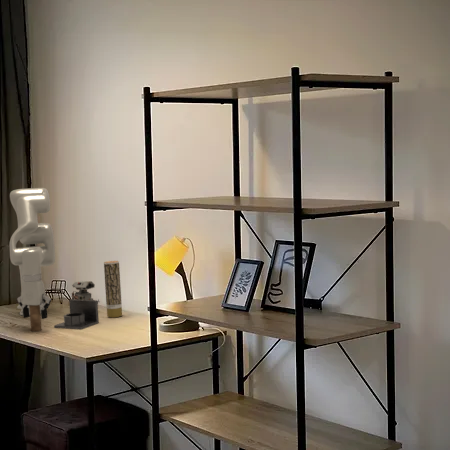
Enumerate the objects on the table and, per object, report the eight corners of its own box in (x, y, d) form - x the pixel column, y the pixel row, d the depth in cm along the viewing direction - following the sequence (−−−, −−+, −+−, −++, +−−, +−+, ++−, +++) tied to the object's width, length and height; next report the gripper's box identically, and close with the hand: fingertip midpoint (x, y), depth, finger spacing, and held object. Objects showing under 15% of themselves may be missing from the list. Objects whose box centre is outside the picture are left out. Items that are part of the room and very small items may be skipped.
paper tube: (119, 317, 369) (116, 262, 367) (105, 318, 371) (101, 263, 368) (124, 314, 376) (121, 260, 374) (110, 314, 377) (106, 260, 375)
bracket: (72, 321, 367) (71, 299, 366) (98, 323, 360) (97, 300, 360) (54, 327, 355) (52, 304, 354) (81, 329, 349) (79, 306, 348)
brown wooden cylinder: (28, 331, 351) (26, 298, 350) (35, 328, 355) (33, 296, 354) (37, 331, 349) (34, 299, 348) (43, 329, 353) (41, 297, 352)
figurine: (83, 316, 378) (81, 283, 377) (70, 313, 387) (68, 281, 385) (100, 312, 384) (98, 280, 383) (87, 309, 393) (85, 278, 391)
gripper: (10, 279, 350) (13, 318, 352) (43, 279, 343) (46, 320, 344) (22, 276, 357) (25, 315, 358) (54, 277, 349) (57, 317, 351)
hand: (35, 317), depth 351 cm, fingers open, 9 cm apart
